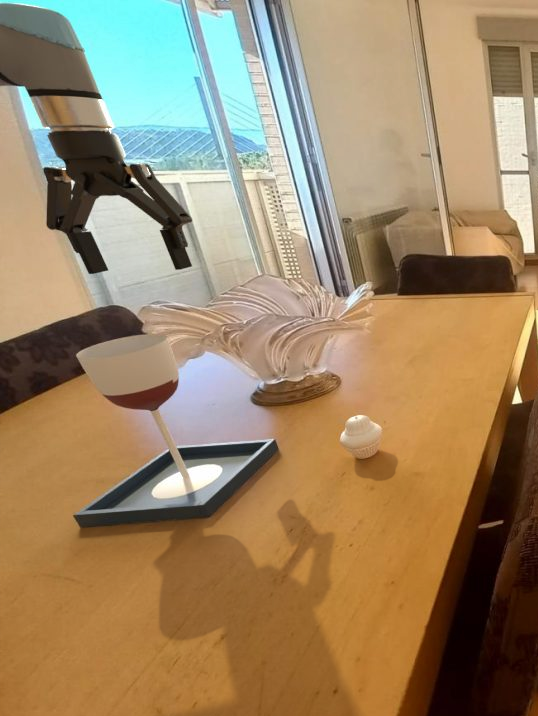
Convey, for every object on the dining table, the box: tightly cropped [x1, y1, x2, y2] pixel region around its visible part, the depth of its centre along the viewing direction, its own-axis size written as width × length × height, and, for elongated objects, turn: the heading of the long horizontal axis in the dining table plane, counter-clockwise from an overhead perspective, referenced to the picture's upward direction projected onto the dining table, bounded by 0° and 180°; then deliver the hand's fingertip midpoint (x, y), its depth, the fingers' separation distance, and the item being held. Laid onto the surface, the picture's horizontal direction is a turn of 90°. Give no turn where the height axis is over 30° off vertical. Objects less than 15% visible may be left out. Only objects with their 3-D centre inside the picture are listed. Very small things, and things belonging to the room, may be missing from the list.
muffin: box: [339, 414, 383, 460], centre depth 77 cm, size 6×6×7 cm
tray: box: [72, 438, 280, 528], centre depth 71 cm, size 17×17×2 cm
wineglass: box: [75, 333, 222, 499], centre depth 67 cm, size 9×10×22 cm
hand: (141, 270), depth 80 cm, fingers open, 13 cm apart
